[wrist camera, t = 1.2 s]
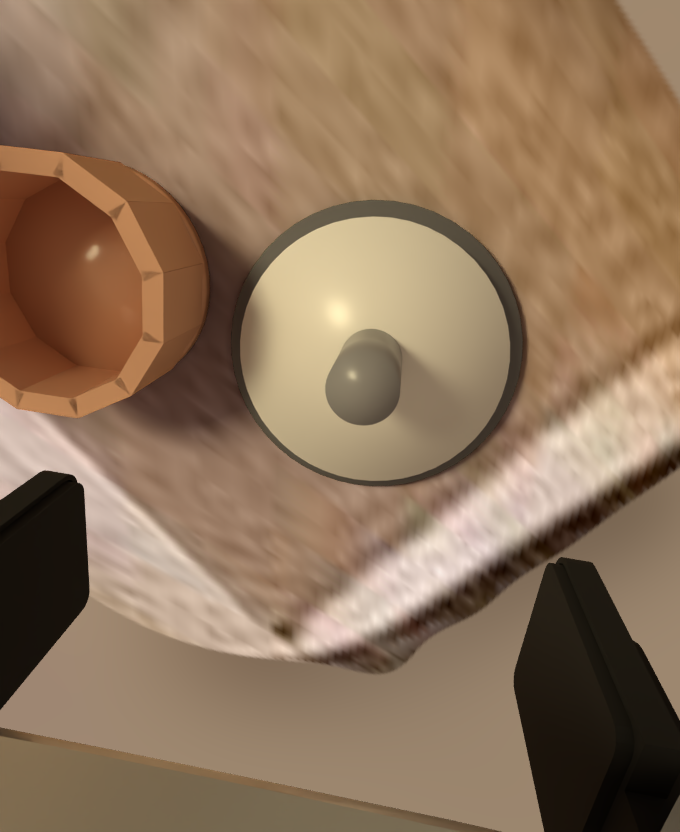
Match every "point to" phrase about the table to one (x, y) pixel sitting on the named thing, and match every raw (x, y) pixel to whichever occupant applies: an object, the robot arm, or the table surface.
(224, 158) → the table surface
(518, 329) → the mat
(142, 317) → the bowl
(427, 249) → the lid
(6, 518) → the robot arm
